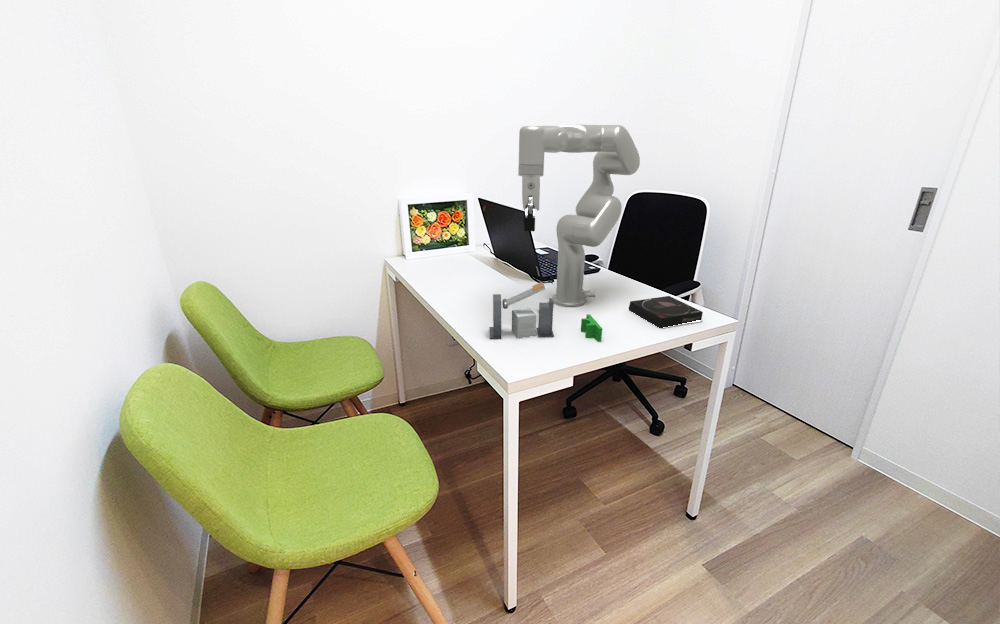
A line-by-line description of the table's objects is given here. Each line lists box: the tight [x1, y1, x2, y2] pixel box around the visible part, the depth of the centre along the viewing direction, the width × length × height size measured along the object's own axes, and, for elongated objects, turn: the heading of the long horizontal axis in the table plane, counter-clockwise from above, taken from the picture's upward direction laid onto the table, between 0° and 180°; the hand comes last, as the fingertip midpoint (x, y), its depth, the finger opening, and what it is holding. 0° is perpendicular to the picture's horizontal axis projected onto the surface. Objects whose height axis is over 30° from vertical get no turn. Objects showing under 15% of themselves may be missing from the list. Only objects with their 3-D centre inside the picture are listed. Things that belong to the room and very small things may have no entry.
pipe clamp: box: [580, 313, 603, 343], centre depth 137 cm, size 11×4×5 cm, turn 9°
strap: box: [501, 281, 546, 310], centre depth 134 cm, size 14×4×2 cm, turn 92°
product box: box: [511, 307, 537, 339], centre depth 137 cm, size 6×6×7 cm
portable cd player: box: [628, 295, 704, 329], centre depth 151 cm, size 16×17×4 cm
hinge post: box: [489, 293, 502, 340], centre depth 136 cm, size 4×8×12 cm, turn 2°
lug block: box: [536, 297, 555, 338], centre depth 136 cm, size 5×6×11 cm
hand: (529, 228), depth 139 cm, fingers open, 9 cm apart
